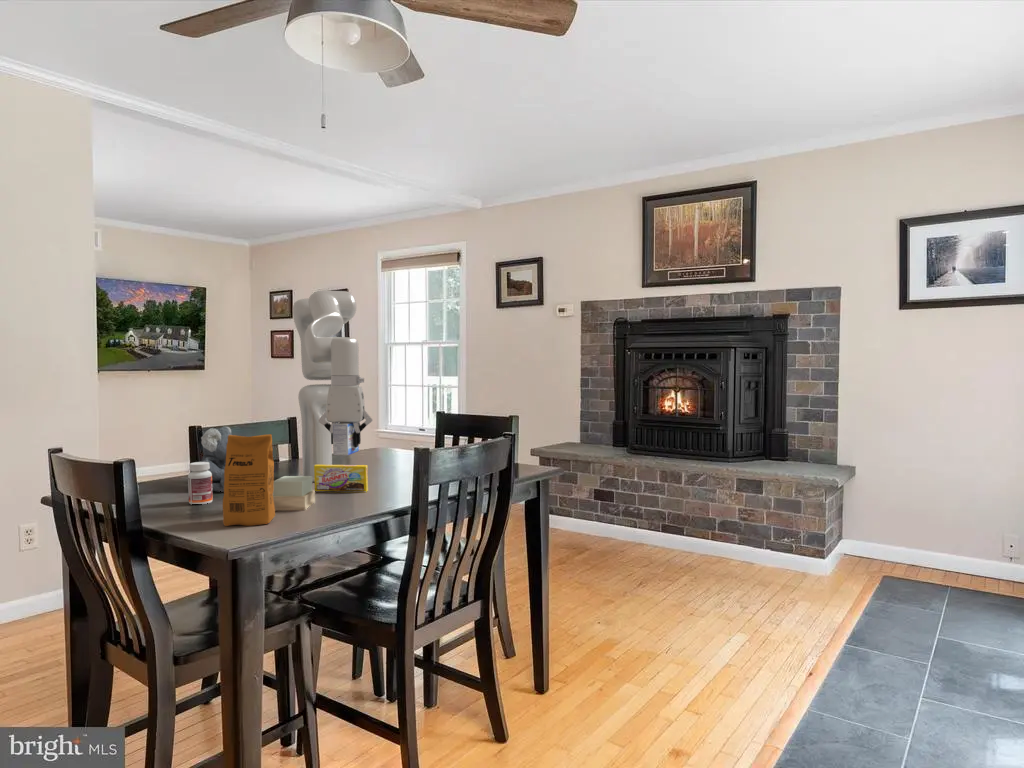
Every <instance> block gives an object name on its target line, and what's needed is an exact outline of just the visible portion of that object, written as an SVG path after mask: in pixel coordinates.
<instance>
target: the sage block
mask: <svg viewBox="0 0 1024 768" xmlns="http://www.w3.org/2000/svg"><path fill="white" fill-rule="evenodd" d="M273 487H274V491H273V496H304V495H306V494H307V493H309V492H311V491H312V490H313V482H312V476H299V475H290V476H289V475H284V476H281V477H279V478H277V479H274V484H273Z"/></svg>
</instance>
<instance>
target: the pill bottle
mask: <svg viewBox="0 0 1024 768" xmlns="http://www.w3.org/2000/svg"><path fill="white" fill-rule="evenodd" d="M208 469H210V465H209V462H201V461H195V462H191V463H189V471H190V472H189V473H188V475H187V483H188V484H187V487H188V492H187V493H188V503H189V504H190V505H192V504H202V505H207V503H208V504H211V503H212V502H213V499H214V498H213V496H214V495H213V494H214V493H213V491H212V473H211V472H210V471H208Z"/></svg>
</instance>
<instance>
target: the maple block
mask: <svg viewBox="0 0 1024 768" xmlns="http://www.w3.org/2000/svg"><path fill="white" fill-rule="evenodd" d="M273 501H274V507H275V511H306V510H308V509H309V508H310V507H312V506H313V505H314V504H316V492H315V489H312V491H311V492H309V493H307V494H306V495H304V496H273ZM313 503H314V504H313ZM312 504H313V505H312ZM311 505H312V506H311ZM309 506H310V507H309ZM308 507H309V508H308ZM307 508H308V509H307ZM305 509H306V510H305Z"/></svg>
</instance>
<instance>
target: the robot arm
mask: <svg viewBox="0 0 1024 768" xmlns="http://www.w3.org/2000/svg"><path fill="white" fill-rule="evenodd" d="M356 311H357V300H356V298H355V296H354V295H353V294H352V292H349V291H346V290H327V289H326V290H325V289H324V290H317V291H314V292H312V293H311V294H310V296H309V298H301V299H297V300H296V301H295V302H294V303H293V306H292V319H293V322H294V325H295V328H296V331H297V333H298V335H299V336H298V337H299V339H300V340H299V341H300V358H301V359H300V360H301V371H302V376H303V377H304V379H306V380H308V381H330V384H329V383H327V384H326V383H322V384H318V383H317V384H308V385H304V386H302V387H301V389H300V390H299V392H298V395H297V396H298V403H299V411H300V416H301V417H300V418H301V447H302V448H301V449H302V453H301V455H302V457H301V459H302V460H301V461H302V462H301V463H302V474H299V475H298V476H312V483H313V482H314V483H315V479H314V465H333V425H334V424H337V423H353V425H354V428H355V433H354V447H358V446H359V445H360V444H361V432H362V431H363V430H364V429H365V428H366V427H367V426H368V425H370V424H371V423H372V422H373V418H372V416H370V414H369V413H368V412H367V411H366V407H365V398H364V397H365V395H364V389H363V386H360V384H362V383H365V378H364V377H362V376H360V370H359V369H360V367H359V365H360V362H359V360H360V359H359V357H360V356H359V351H360V350H359V341H358V339H357V338H354V337H348V336H335V335H337V334H338V333H340V332H341V330H342V329H343V327H344V325H345V324H346V323H348V322H349V321H350V320H352V319H353V318H354V316H355V315H356ZM364 420H365V421H364ZM361 421H364V422H362V424H361V423H360V422H361Z"/></svg>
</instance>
